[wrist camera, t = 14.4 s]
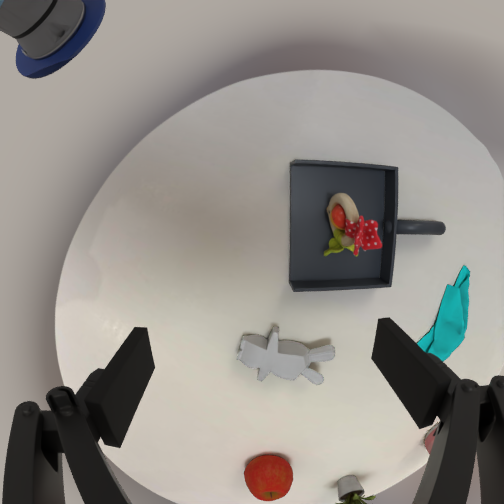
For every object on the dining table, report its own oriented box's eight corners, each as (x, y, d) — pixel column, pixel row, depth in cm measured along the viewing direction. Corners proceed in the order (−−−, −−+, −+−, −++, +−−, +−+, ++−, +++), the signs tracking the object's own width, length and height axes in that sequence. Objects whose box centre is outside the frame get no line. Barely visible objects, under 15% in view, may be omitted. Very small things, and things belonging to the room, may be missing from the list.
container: (413, 445, 55) (425, 464, 47) (436, 417, 53) (449, 436, 45) (436, 443, 56) (447, 460, 48) (457, 417, 54) (470, 433, 46)
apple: (282, 475, 55) (286, 508, 44) (239, 472, 54) (239, 506, 43) (296, 452, 52) (303, 487, 42) (249, 448, 52) (250, 485, 41)
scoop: (289, 283, 44) (293, 291, 40) (290, 162, 40) (294, 159, 36) (431, 276, 44) (443, 282, 41) (438, 175, 41) (452, 174, 37)
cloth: (427, 388, 50) (432, 393, 48) (389, 375, 49) (394, 381, 46) (489, 287, 46) (496, 290, 43) (459, 260, 44) (466, 263, 42)
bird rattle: (307, 214, 43) (326, 271, 42) (316, 184, 32) (343, 258, 31) (344, 203, 43) (364, 258, 41) (363, 172, 32) (391, 242, 30)
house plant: (367, 456, 54) (386, 503, 38) (379, 474, 57) (396, 514, 41) (317, 479, 56) (328, 526, 40) (334, 494, 58) (345, 535, 42)
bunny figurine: (245, 328, 41) (342, 351, 40) (249, 314, 46) (336, 336, 45) (231, 378, 43) (320, 397, 42) (235, 361, 48) (317, 380, 47)
